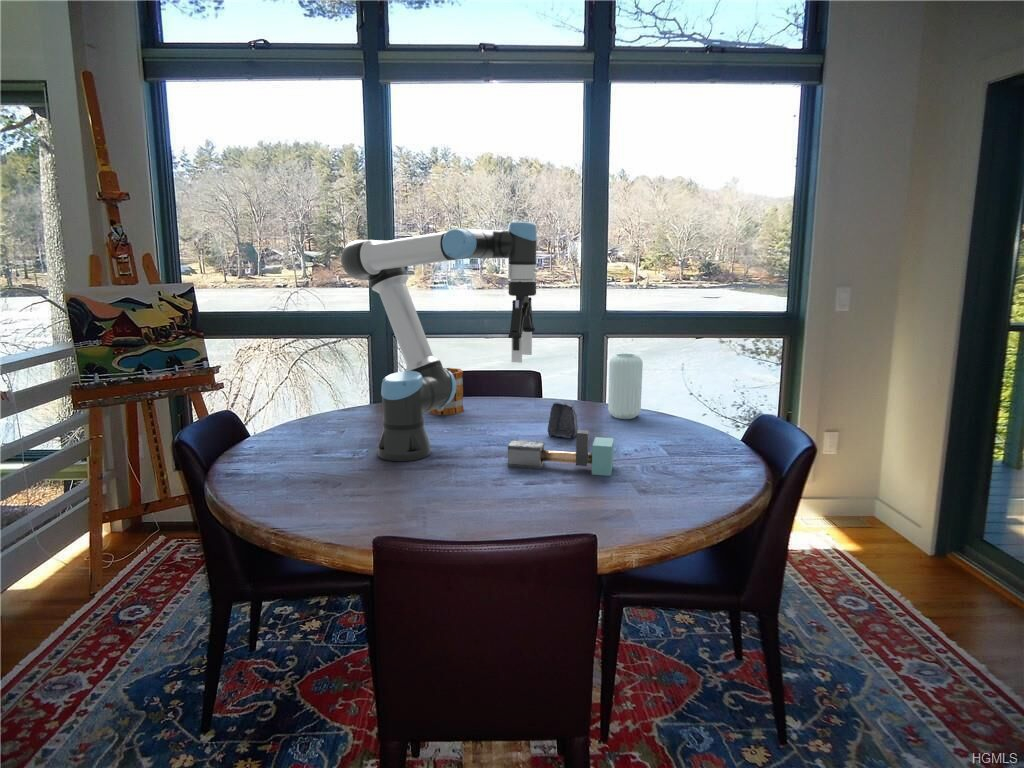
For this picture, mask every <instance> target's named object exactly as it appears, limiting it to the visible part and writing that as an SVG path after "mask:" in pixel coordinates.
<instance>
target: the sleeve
mask: <svg viewBox="0 0 1024 768" xmlns="http://www.w3.org/2000/svg"><path fill="white" fill-rule="evenodd" d="M541 450H545V441H537V440H536V441H535V440H520V439H512V440H511V441H510V443H509V444H508V445H507V468H516V469H517V468H519V469H529V470H530V469H531V470H532V469H533V470H541V469H542V467H543V465H544V463H545V461H541Z"/></svg>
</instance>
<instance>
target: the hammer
mask: <svg viewBox="0 0 1024 768" xmlns="http://www.w3.org/2000/svg"><path fill="white" fill-rule="evenodd" d="M575 437H576V438H575V439H576V445H575V451H563V450H560V451H559V450H549V449H544V450H541V461H544V462H548V463H549V462H551V463H552V462H553V463H562V464H563V463H564V464H565V463H567V464H575V466H580V467H581V466H582V467H588V465H591V466H592V452H589V450H590V449H589V447H590V446H589V445H590V430H584V429H578V431H577V433H576V435H575Z"/></svg>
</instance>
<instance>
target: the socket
mask: <svg viewBox="0 0 1024 768" xmlns="http://www.w3.org/2000/svg"><path fill="white" fill-rule="evenodd" d="M614 439H615V438H613V437H602V436H601V437H599V436H595V437H594V441H593V442H592V445H591V446H592V449H591V450H592V452H591V453H592V465H591V475H593V476H594V475H595V476H596V475H597V476H607V477H611V475H612V474H613V473H612V472H613V469H614V468H613V467H614V448H615V447H614V444H615V443H614V442H615V440H614Z"/></svg>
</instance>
